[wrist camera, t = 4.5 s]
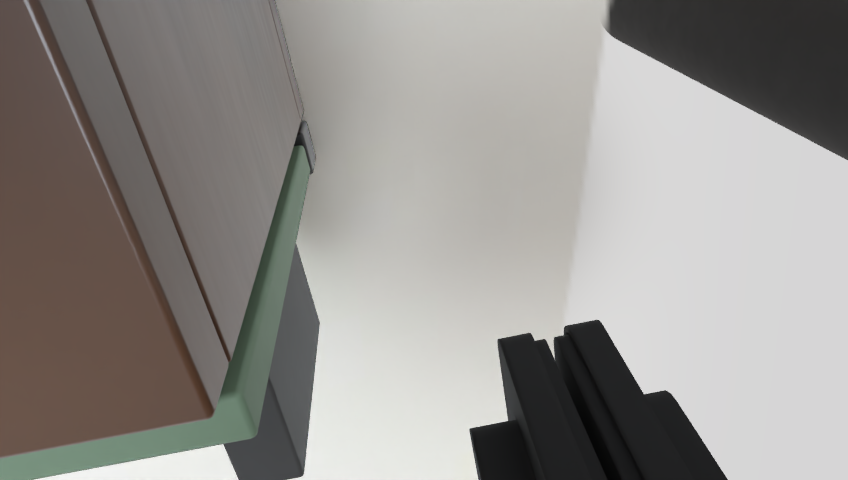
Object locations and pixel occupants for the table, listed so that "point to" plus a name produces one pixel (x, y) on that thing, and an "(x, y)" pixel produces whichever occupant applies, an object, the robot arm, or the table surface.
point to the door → (237, 374)
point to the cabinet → (133, 206)
